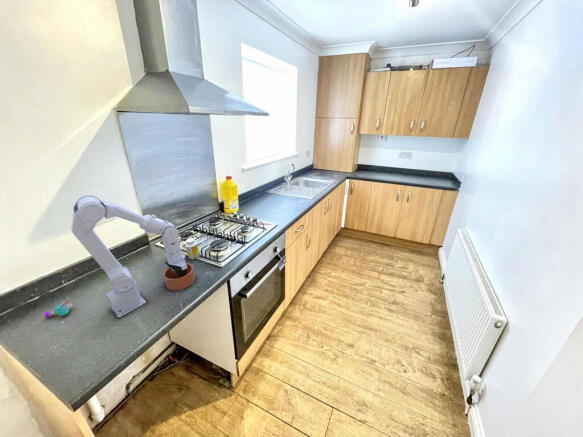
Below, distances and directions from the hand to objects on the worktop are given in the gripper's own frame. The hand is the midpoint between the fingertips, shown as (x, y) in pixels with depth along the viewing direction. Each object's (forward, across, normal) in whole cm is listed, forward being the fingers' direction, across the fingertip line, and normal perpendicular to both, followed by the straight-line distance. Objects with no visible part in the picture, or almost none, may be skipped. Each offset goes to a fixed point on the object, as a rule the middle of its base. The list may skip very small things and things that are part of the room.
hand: (179, 276), depth 102 cm
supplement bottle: (+3, +14, -14) cm, 20 cm away
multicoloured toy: (+2, -17, 0) cm, 17 cm away
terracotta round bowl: (+3, 0, 0) cm, 3 cm away
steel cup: (+2, 0, 0) cm, 2 cm away
